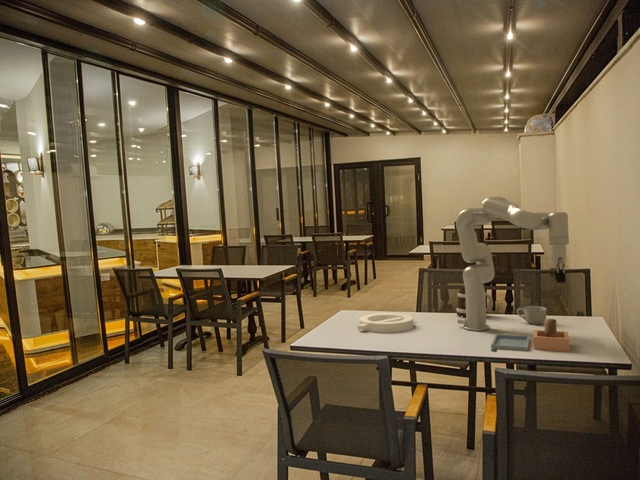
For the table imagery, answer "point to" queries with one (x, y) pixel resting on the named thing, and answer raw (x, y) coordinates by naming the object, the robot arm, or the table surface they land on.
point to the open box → (551, 341)
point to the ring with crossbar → (385, 322)
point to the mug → (462, 303)
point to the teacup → (533, 314)
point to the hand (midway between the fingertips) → (560, 281)
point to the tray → (510, 342)
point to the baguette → (550, 328)
